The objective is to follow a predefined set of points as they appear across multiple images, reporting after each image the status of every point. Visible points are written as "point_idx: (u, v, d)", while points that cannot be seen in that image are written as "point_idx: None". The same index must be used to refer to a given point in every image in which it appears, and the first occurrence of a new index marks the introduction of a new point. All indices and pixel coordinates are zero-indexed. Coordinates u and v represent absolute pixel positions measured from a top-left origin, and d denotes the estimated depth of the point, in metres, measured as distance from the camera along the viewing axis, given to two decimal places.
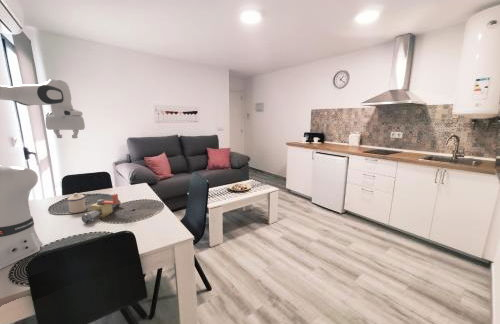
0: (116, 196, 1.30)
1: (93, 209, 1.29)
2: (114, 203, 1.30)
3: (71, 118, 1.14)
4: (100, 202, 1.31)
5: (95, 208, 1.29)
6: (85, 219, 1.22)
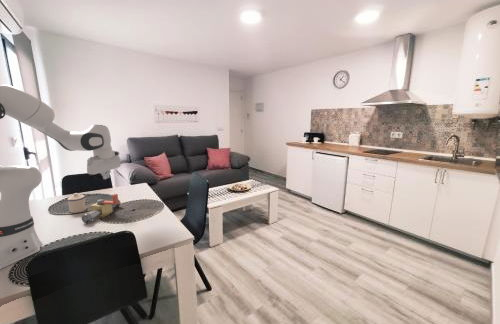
0: (116, 196, 1.30)
1: (93, 209, 1.29)
2: (114, 203, 1.30)
3: (116, 158, 1.27)
4: (100, 202, 1.31)
5: (95, 208, 1.29)
6: (85, 219, 1.22)
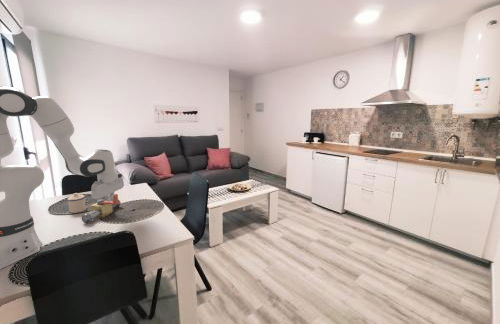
0: (116, 196, 1.30)
1: (93, 209, 1.29)
2: (114, 203, 1.30)
3: (119, 179, 1.29)
4: (100, 202, 1.31)
5: (95, 208, 1.29)
6: (85, 219, 1.22)
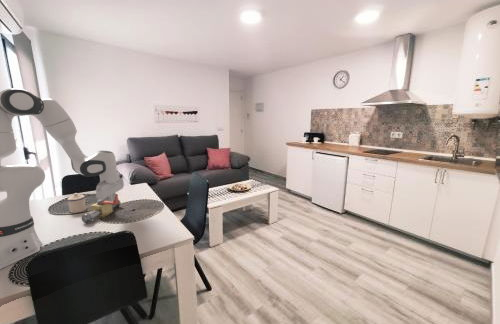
0: (116, 196, 1.30)
1: (93, 209, 1.29)
2: (114, 203, 1.30)
3: (120, 180, 1.32)
4: (100, 202, 1.31)
5: (95, 208, 1.29)
6: (85, 219, 1.22)
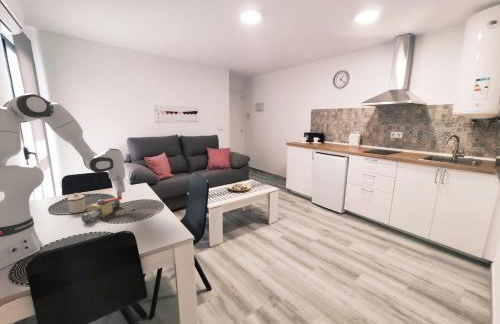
0: None
1: (93, 209, 1.29)
2: (120, 198, 1.38)
3: None
4: (103, 201, 1.32)
5: (95, 208, 1.29)
6: (85, 219, 1.22)
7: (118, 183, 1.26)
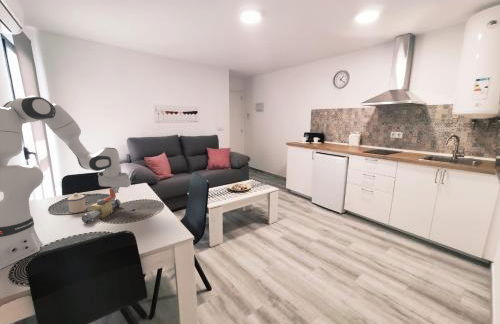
0: None
1: (93, 209, 1.29)
2: (114, 196, 1.42)
3: None
4: (104, 200, 1.33)
5: (95, 208, 1.29)
6: (85, 219, 1.22)
7: (126, 178, 1.37)
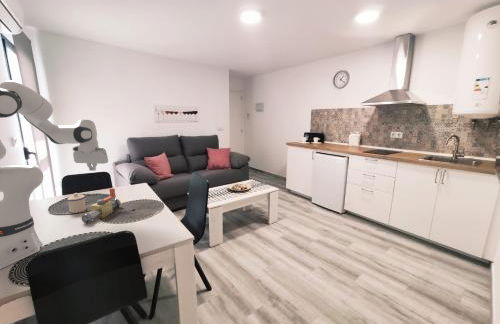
0: None
1: (93, 209, 1.29)
2: (114, 196, 1.42)
3: None
4: (104, 200, 1.33)
5: (95, 208, 1.29)
6: (85, 219, 1.22)
7: (103, 153, 1.27)
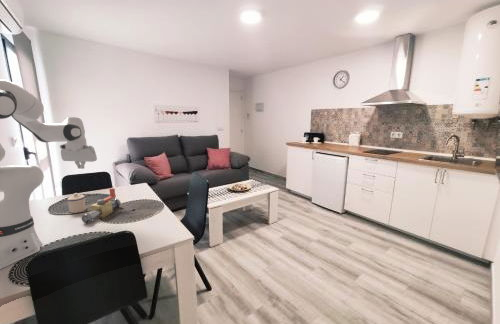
0: None
1: (93, 209, 1.29)
2: (114, 196, 1.42)
3: None
4: (104, 200, 1.33)
5: (95, 208, 1.29)
6: (85, 219, 1.22)
7: (91, 151, 1.25)
